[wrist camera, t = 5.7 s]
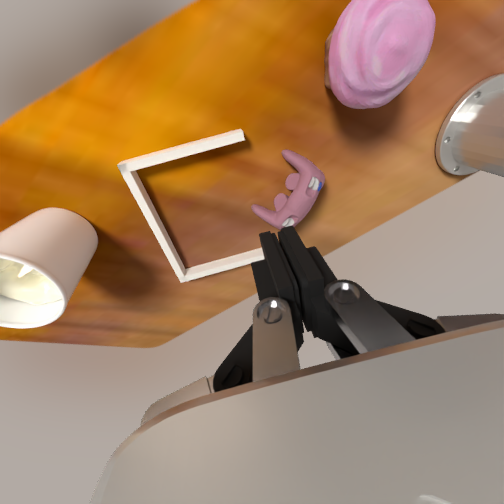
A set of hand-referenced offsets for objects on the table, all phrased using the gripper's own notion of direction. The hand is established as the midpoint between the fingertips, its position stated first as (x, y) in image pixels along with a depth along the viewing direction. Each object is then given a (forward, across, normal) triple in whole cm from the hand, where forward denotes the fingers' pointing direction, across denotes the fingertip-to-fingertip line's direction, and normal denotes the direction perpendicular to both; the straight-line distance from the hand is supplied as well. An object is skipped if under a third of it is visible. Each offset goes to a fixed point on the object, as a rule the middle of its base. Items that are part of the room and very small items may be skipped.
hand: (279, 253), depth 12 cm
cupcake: (+23, -14, -7) cm, 28 cm away
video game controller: (+23, -5, +6) cm, 25 cm away
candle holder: (+23, +26, +5) cm, 35 cm away
